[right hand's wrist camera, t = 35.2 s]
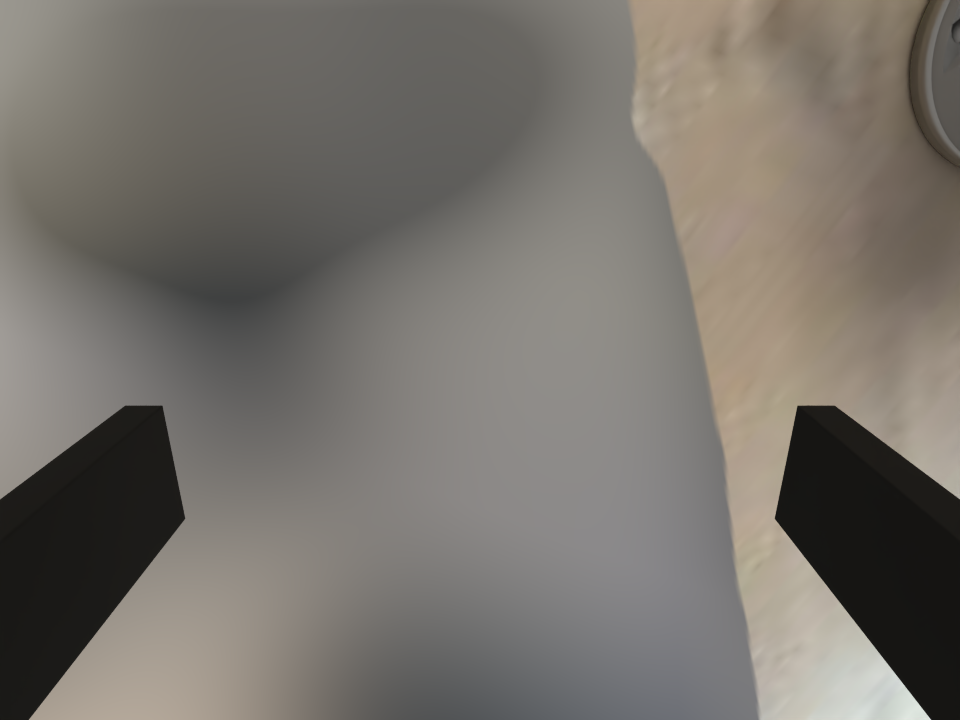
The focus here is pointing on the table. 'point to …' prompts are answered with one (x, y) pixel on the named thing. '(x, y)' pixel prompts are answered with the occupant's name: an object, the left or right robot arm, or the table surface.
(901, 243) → the table surface
